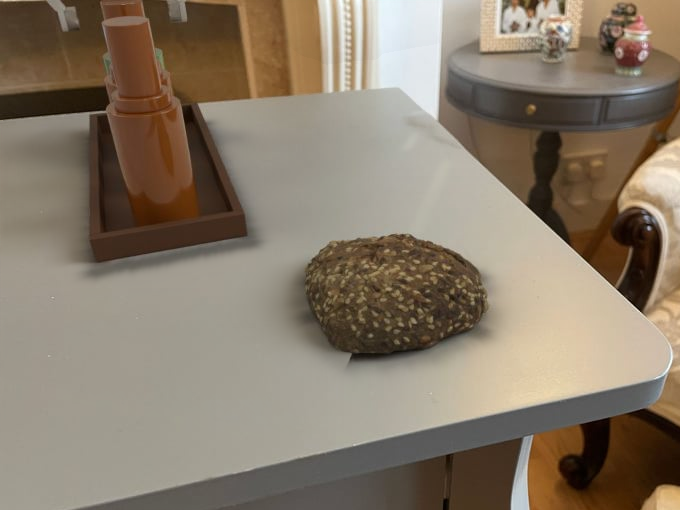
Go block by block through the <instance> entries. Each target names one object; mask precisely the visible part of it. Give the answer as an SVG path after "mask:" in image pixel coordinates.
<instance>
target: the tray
mask: <svg viewBox="0 0 680 510" xmlns="http://www.w3.org/2000/svg"><path fill="white" fill-rule="evenodd" d="M181 108H182V113H183V119H184V124H185V130H186V135H187V141H188V146H189V152H190V157H191V163H192V168H193V173H194V179H195V184H196V190H197V195H198V201H199V206H200V212H201V217H196V218H190V219H184V220H178V221H172V222H166V223H160V224H154V225H148V226H142V227H136V228H135V224H134V220H133V216H132V212H131V208H130V204H129V200H128V196H127V192H126V188H125V184H124V180H123V176H122V172H121V168H120V164H119V160H118V156H117V152H116V148H115V144H114V140H113V136H112V132H111V128H110V124H109V120H108V116H107V112H106V111H105V112H99V113H90V114H89V116H88V117H89V120H88V121H89V123H88V125H89V126H88V127H89V131H88V134H89V137H88V138H89V146H88V147H89V149H88V152H89V161H88V162H89V164H88V165H89V167H88V169H89V172H88V173H89V177H88V178H89V179H88V180H89V181H88V182H89V183H88V185H89V196H88V197H89V198H88V199H89V202H88V204H89V206H88V207H89V210H88V211H89V212H88V213H89V215H88V218H89V219H88V220H89V222H88V223H89V243H90V247H91V250H92V253H93V256H94V260H95V263H96V264H100V263H104V262H105V263H106V262H111V261H116V260H122V259H127V258H132V257H139V256H144V255H150V254H154V253H160V252H161V253H162V252H167V251H171V250H177V249H184V248H189V247H194V246H200V245H205V244H210V243H211V244H212V243H217V242H222V241H227V240H232V239H238V238H239V239H240V238H244V237H248V226H247V220H246V219H247V218H246V214H245V211H244V209H243V206H242V204H241V201H240V199H239V197H238V194H237V192H236V189H235V187H234V186H233V182H232V180H231V179H230V175H229V174H228V171H227V169H226V166H225V163H224V162H223V159H222V158H221V155H220V153H219V149H218V148H217V145H216V143H215V140H214V137H213V136H212V134H211V131H210V129H209V127H208V124H207V122H206V119H205V118H204V115H203V113H202V110H201V108H200V106H199V103H198V101H192V102H184V103H183V102H182V103H181Z"/></svg>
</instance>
